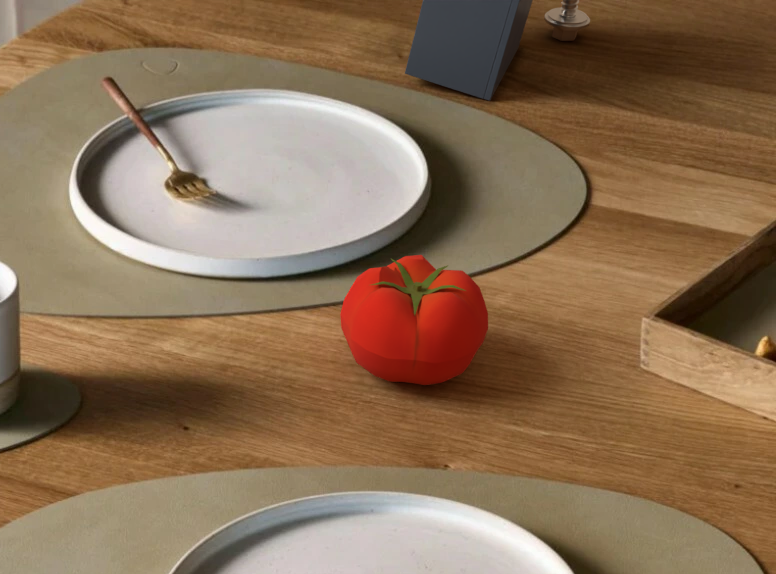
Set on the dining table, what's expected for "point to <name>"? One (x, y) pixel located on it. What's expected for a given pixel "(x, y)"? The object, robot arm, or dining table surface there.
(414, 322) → the tomato
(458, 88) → the handled storage bin
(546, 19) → the white chess piece
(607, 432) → the dining table surface
